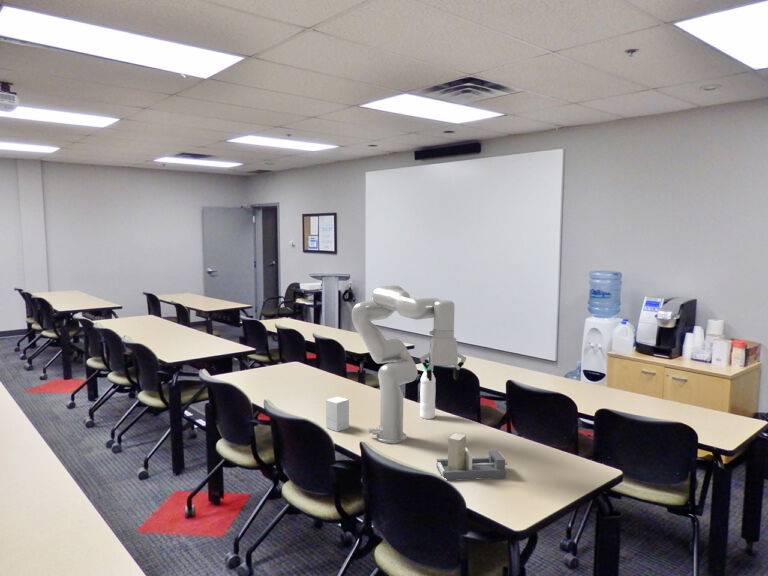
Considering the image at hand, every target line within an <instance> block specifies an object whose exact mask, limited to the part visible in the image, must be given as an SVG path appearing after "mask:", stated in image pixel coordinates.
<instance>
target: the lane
mask: <svg viewBox="0 0 768 576" xmlns="http://www.w3.org/2000/svg"><path fill="white" fill-rule="evenodd" d="M505 462H506V459H505V458H504V457H503V455H502V454H501V453H500V451H499V450H498V449H489V450H488V457H485V456H484V457H472V464H473V463H494V466H473V467H472V470H466V468H465V469H464V470H456V471H448V458H437V459H436V468H437V470H438V472H439V474H440V477H441V476H443V477H444V478H446V479H447V480H446V481H457V480H456V479H468V480H477V479H476V478H494V479H506V478H507V470H506V465H505Z"/></svg>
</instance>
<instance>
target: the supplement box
mask: <svg viewBox="0 0 768 576" xmlns="http://www.w3.org/2000/svg"><path fill="white" fill-rule="evenodd" d="M325 416H326V417H325V420H326V421H325V424H326V425H325V427H326V428H327V429H329V430H332V431H335V432H340V431H344V430H347V429H349V428H350V399H348V398H344V397H341V396H335V397H332V398H328V399H326V400H325Z"/></svg>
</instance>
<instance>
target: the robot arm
mask: <svg viewBox="0 0 768 576" xmlns="http://www.w3.org/2000/svg"><path fill="white" fill-rule="evenodd" d="M371 295H372V296H371V299H372V300H367V301H361V302H358V303H356V304H355V305H353V308H352V309H351V321H352V324H353V327H354V328H355V330H356V331H357V333H358V334H359V336H360V337H361V339H362V341H363V343H364V344H365V346H366V349H367V351H368V352H369V353H368V354H369V355H370V356H371V359H372V360H373V361H374V362H375V363H376V364H378V365H379V364H383V365H382V366H380V368H379V369H378V374H377V377H378V383H379V391H380V392H379V395H380V397H379V398H380V399H379V400H380V401H379V402H380V406H379V407H380V408H379V409H380V410H379V411H380V415H379V421H380V422H379V425H378V427H376V428H368V434H372V436H376V437H375V438H376V440H377V441H379V442H381V443H384V444H400V443H403V442H405V441H406V440H407V439H408V438H407V434H406V433H405V432H404V394H403V391H402V389H401V387H400V386H401V385H405V384H409V383H412V382H414V381H415V380H416V379H417V378H418V377H417V376H418V367H417V365H416V363H415V361H414V359H413V357H412V355H411V354H410V352H409V349H408V347H406V345H405V344H404V342H403V341H402V340H401V339H398V338H389V339H388V338H385V336H384V334H383V332H382V331H381V329H380V328H379V327H378V326H377V325H376V324H374V323H373V322H372V321H380V320H385V319H388V318H390V316H392V315H393V314H394V313H395V312H397V313H398V314H399V315H400V316H401V317H405V318H408V319H413V320H418V321H419V320H425V319H433V327H432V328H433V329H432V330H430V331H428V333H429V335H431V339H430V344H429V352H428V353H426V354H424V355H422V356H420V357H419V360H420V362H421V364H422V367H423V366H424V367H425V368H426V369H427V378H428V379H429V381H432V372H433V371H432V370H431V368H432V367H433V368H434V366H435V367H438V366H439V367H440V366H441V367H444V366H447V367H448V366H449V367H451V366H453V367H454V368H453V379H454V380H455V381H458V378H459V376H460V374H459V373H460V369H461V368H462V367H463V366H464V365H465V363H466V360H467V357H466V356H464V355H463V354H460V353H459V352H458V351H459V350H458V342H457V338H456V337H455V307H456V306H455V303H454V301H452V300H449V299H448V300H445V299H440V298H437V297H427V298H418V299H416V298H411V295H410V294H409V292H408V291H406V290H404V289H403V287H401V286H399V285H384V286H382V285H381V286H379V287H377V288H375V289H374V290H373V292H372V294H371ZM427 359H428V363H427V362H426V361H425V360H427ZM459 359H461V360H460V361H458V360H459Z"/></svg>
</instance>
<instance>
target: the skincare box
mask: <svg viewBox="0 0 768 576" xmlns="http://www.w3.org/2000/svg"><path fill="white" fill-rule="evenodd" d="M466 438H467V436H466V434H461V433H453V434H452V435H450V436H448V439H447V440H448V441H447V446H448V447H447V459H448V471H456V470H464V469H465V455H466V448H467V447H466V446H467V444H466V442H467V441H466V440H467V439H466Z"/></svg>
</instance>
